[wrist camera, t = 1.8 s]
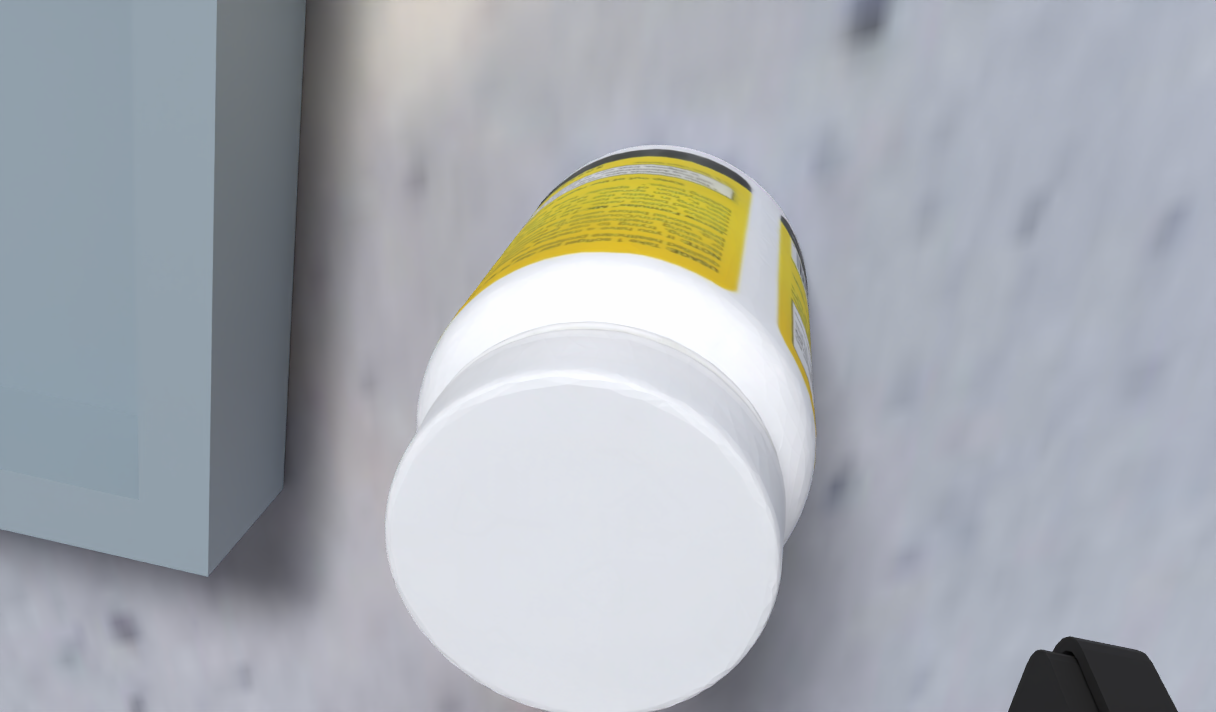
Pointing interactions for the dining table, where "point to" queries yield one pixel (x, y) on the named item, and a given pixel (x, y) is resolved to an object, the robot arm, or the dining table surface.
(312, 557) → the dining table surface
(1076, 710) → the robot arm
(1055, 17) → the dining table surface
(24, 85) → the tray
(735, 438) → the supplement bottle
